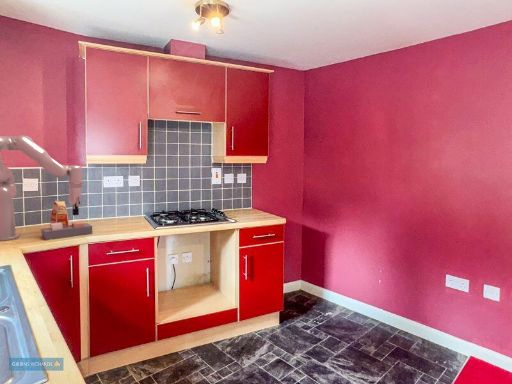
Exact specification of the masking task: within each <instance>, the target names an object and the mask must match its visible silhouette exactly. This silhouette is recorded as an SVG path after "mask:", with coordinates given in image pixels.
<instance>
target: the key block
mask: <svg viewBox="0 0 512 384" xmlns="http://www.w3.org/2000/svg"><path fill="white" fill-rule="evenodd" d="M83 223H84V226H82V227H72V224H69V225H67V226H63V229H58V230H51V229H50V227H44V228H41V238H43V239H44V241H50V239H52V240H56V239H57V240H59V239H65V238H72V237H79V236H85V235H86V236H87V235H92V234H93V225H91V224H89V223H88V222H83Z"/></svg>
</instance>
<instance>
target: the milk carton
mask: <svg viewBox="0 0 512 384" xmlns="http://www.w3.org/2000/svg"><path fill="white" fill-rule="evenodd" d="M50 214H51V215H50V223H59V222H60V223H62V225H63V226H67V225H70V221H69V213H68V209H67V206H66V201H63V200H62V201H61V200H55V199H54V203H53V205H52V210H51V213H50ZM50 223H49V224H50Z"/></svg>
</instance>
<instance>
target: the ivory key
mask: <svg viewBox="0 0 512 384" xmlns="http://www.w3.org/2000/svg"><path fill="white" fill-rule="evenodd" d="M49 228H50V229H51V230H58V229H63V225H62V223H60V222H59V223H49Z"/></svg>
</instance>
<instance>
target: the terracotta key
mask: <svg viewBox="0 0 512 384" xmlns="http://www.w3.org/2000/svg"><path fill="white" fill-rule="evenodd" d="M84 223H85V222H82V221H76V222H71V225H72V227H82V226H84Z"/></svg>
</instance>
